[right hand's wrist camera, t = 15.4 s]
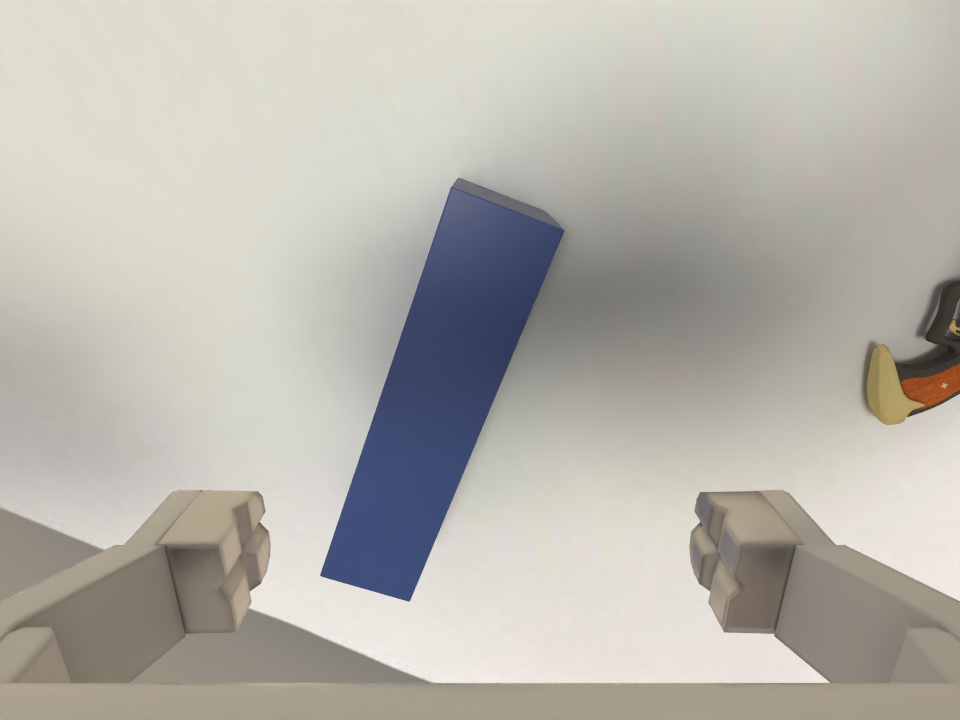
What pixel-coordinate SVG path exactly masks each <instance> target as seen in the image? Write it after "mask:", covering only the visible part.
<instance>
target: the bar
mask: <svg viewBox="0 0 960 720" xmlns="http://www.w3.org/2000/svg"><path fill="white" fill-rule="evenodd" d="M563 233H564V230H563V229H562V228H561V227H560V226H559V225H558V224H557V223H556V222H555V221H554V220H553V219H552V218H551V217H550V216H549V215H548V214H547V213H546V212H545V211H543V210H540V209H538V208H535V207H532V206H530V205H527V204H525V203H522V202H519V201H517V200H514V199H512V198H509V197H507V196H504V195H501V194H499V193H496V192H494V191H491V190H488V189H486V188H483V187H481V186H478V185H476V184H473V183H470V182H468V181H465V180H463V179H460V178H458V179H457V180H456V182H455V183H454V184H453V186H452V187H451V189H450V192H449V195H448V198H447V201H446V204H445V207H444V210H443V213H442V216H441V219H440V222H439V225H438V228H437V231H436V234H435V237H434V239H433V242H432V245H431V248H430V251H429V254H428V257H427V260H426V263H425V266H424V269H423V272H422V275H421V278H420V281H419V284H418V287H417V290H416V293H415V296H414V299H413V302H412V305H411V308H410V311H409V314H408V317H407V319H406V322H405V325H404V328H403V331H402V334H401V337H400V340H399V343H398V346H397V349H396V352H395V355H394V358H393V361H392V364H391V367H390V370H389V373H388V376H387V379H386V382H385V385H384V388H383V391H382V394H381V397H380V399H379V402H378V405H377V408H376V411H375V414H374V417H373V420H372V423H371V426H370V429H369V432H368V435H367V438H366V441H365V444H364V447H363V450H362V453H361V456H360V459H359V462H358V465H357V468H356V471H355V474H354V477H353V479H352V482H351V485H350V488H349V491H348V494H347V497H346V500H345V503H344V506H343V509H342V512H341V515H340V518H339V521H338V524H337V527H336V530H335V533H334V536H333V539H332V542H331V545H330V548H329V551H328V554H327V557H326V559H325V562H324V565H323V568H322V571H321V574H320V576H322V577H325V578H329V579H332V580H336V581H339V582H343V583H346V584H350V585H353V586H357V587H360V588H364V589H367V590H371V591H374V592H378V593H381V594H384V595H388V596H391V597H395V598H398V599H402V600H405V601H410V600H411V597H412V595H413V593H414V590H415V588H416V585H417V583H418V581H419V578H420V576H421V573H422V571H423V569H424V566H425V564H426V561H427V559H428V557H429V554H430V552H431V549H432V547H433V545H434V542H435V540H436V537H437V535H438V533H439V530H440V528H441V525H442V523H443V521H444V518H445V516H446V513H447V511H448V509H449V506H450V504H451V501H452V499H453V497H454V494H455V492H456V489H457V487H458V485H459V482H460V480H461V477H462V475H463V473H464V470H465V468H466V465H467V463H468V461H469V458H470V456H471V453H472V451H473V449H474V446H475V444H476V441H477V439H478V437H479V434H480V432H481V429H482V427H483V425H484V422H485V420H486V417H487V415H488V413H489V410H490V408H491V405H492V403H493V401H494V398H495V396H496V393H497V391H498V389H499V386H500V384H501V381H502V379H503V377H504V374H505V372H506V369H507V367H508V365H509V362H510V360H511V357H512V355H513V353H514V350H515V348H516V345H517V343H518V341H519V338H520V336H521V333H522V331H523V329H524V326H525V324H526V321H527V319H528V317H529V314H530V312H531V309H532V307H533V305H534V302H535V300H536V297H537V295H538V293H539V290H540V288H541V285H542V283H543V281H544V278H545V276H546V273H547V271H548V269H549V266H550V264H551V261H552V259H553V257H554V254H555V252H556V249H557V247H558V245H559V242H560V240H561V237H562V235H563Z"/></svg>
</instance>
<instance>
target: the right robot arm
mask: <svg viewBox="0 0 960 720" xmlns="http://www.w3.org/2000/svg"><path fill="white" fill-rule="evenodd" d="M264 513H265V507H264V502H263V497H262V495H261V494H260V493H259V492H258V491H212V490H206V491H203V490H179V491H175V492H172V493H171V494H170V495H169V496H168V497H167V498H166V499H165V501H164V502H163V503H162V504H161V505H160V506H159V507H158V508H157V509H156V510H155V512H154V513H153V514H152V515H151V516H150V517H149V518H148V519H147V520H146V521H145V523H144V524H143V525H142V526H141V527H140V528H139V529H138V530H137V531H136V532H135V534H134V535H133V536H132V537H131V538H130V539H129V540H128V541H127V542H126V543H125V545H115V546H113V547H110V548H108V549H106V550H104V551H102V552H100V553H98V554H96V555H94V556H92V557H90V558H88V559H86V560H84V561H82V562H80V563H78V564H76V565H74V566H72V567H70V568H67V569H65V570H63V571H61V572H59V573H57V574H55V575H53V576H51V577H49V578H47V579H45V580H43V581H41V582H39V583H37V584H35V585H33V586H31V587H29V588H27V589H24V590H22V591H20V592H18V593H16V594H14V595H12V596H10V597H8V598H6V599H4V600H2V601H0V720H960V601H958V600H956V599H954V598H952V597H950V596H948V595H946V594H943V593H941V592H939V591H937V590H935V589H933V588H931V587H929V586H927V585H925V584H923V583H921V582H919V581H917V580H915V579H913V578H911V577H909V576H907V575H905V574H903V573H901V572H899V571H896V570H894V569H892V568H890V567H888V566H886V565H884V564H882V563H880V562H878V561H876V560H874V559H872V558H870V557H868V556H866V555H864V554H862V553H860V552H858V551H856V550H854V549H852V548H849V547H847V546H845V545H835V543H834V542H833V541H832V540H831V539H830V538H829V537H828V536H827V535H826V534H825V532H824V531H823V530H822V529H821V528H820V527H819V526H818V525H817V524H816V523H815V521H814V520H813V519H812V518H811V517H810V516H809V515H808V514H807V513H806V512H805V510H804V509H803V508H802V507H801V506H800V505H799V504H798V503H797V502H796V501H795V499H794V498H793V497H792V496H791V495H790V494H789V493H788V492H785V491H783V490H763V491H739V492H700V494H699V496H698V498H697V500H696V506H695V513H696V515H697V516H698V518H699V520H700V523H699V524H698V525H697V526H696V527H695V528H694V529H693V530H692V531H691V539H690V558H691V564H692V568H693V571H694V574H695V576H696V578H697V580H698V582H699V584H700V585H702V586H703V587H705V588H706V589H708V590H709V591H711V592H710V598H709V604H710V606H711V608H712V610H713V612H714V614H715V616H716V618H717V620H718V621H719V623H720V625H721V627H722V629H723V631H724V632H732V633H768V634H775V635H774V636H775V637H776V638H777V639H778V640H780V641H781V642H782V643H783V644H784V645H786V646H787V647H788V648H789V649H791V650H792V651H793V652H794V653H795V654H797V655H798V656H799V657H800V658H801V659H803V660H804V661H805V662H806V663H807V664H809V665H810V666H811V667H812V668H813V669H815V670H816V671H817V672H818V673H819V674H821V675H822V676H823V677H824V678H825V679H827V680H828V681H829V682H830V683H130V682H131V681H132V680H133V679H135V678H136V677H137V676H138V675H139V674H141V673H142V672H143V671H144V670H145V669H147V668H148V667H149V666H150V665H152V664H153V663H154V662H155V661H156V660H158V659H159V658H160V657H161V656H162V655H164V654H165V653H166V652H167V651H168V650H170V649H171V648H172V647H173V646H175V645H176V644H177V643H178V642H179V641H181V640H182V639H183V638H184V637H185V634H192V633H226V632H236V631H237V629H238V627H239V625H240V623H241V621H242V620H243V618H244V616H245V614H246V612H247V610H248V608H249V606H250V604H251V598H250V592H249V591H251V590H252V589H254V588H255V587H257V586H258V585H260V584H261V582H262V580H263V578H264V576H265V574H266V572H267V567H268V563H269V558H270V537H269V531H268V530H267V529H266V528H265V527H264V526H263V525H262V524H261V523H260V520H261V518H262V516H263V515H264Z"/></svg>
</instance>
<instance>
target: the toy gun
mask: <svg viewBox="0 0 960 720" xmlns="http://www.w3.org/2000/svg"><path fill="white" fill-rule="evenodd" d="M959 299H960V281H959V282H955V283H952V284H950V285H949V286H947V287H946V288H945V289H944V290H943V291H942V293H941V298H940V304H939V308H938V312H937V314H936V317H935V319H934V322H933V323H932V325H931V327H930V329H929V331H928V333H927V335H926V340H927V341H929V342H932V343H935V344H943V345H948V346H949V351H948V352H946V353H945V354H943V355H941V356H939V357H936V358H934V359H932V360H929V361H926V362H924V363H921V364H918V365H901V364H896V363H894V360H893V357H892V355H891V353H890V351H889V350H888V348H887V347H886V346H885V345H883V344H882V345H878V346H877V347H876V348H875V349H874V350H873V353H872V357H871V361H870V367H869V373H868V379H867V398H868V404H869V406H870V409H871V411H872V412H873V414H874V415H875V416H876V417H877V418H878V419H879V420H880V421H881V422H882V423H884V424H887V425H892V424H899V423H901V422H903V421H904V420H905V419H906V417H909V416H912V415H915V414H918V413H921V412H924V411H926V410H929V409H931V408H934V407H936V406H938V405H940V404H942V403H944V402H946V401H948V400H950V399H951V398H953V397H955V396H957V395H958V394H960V339H956V340H950V339H947V338H945V333H946V330H947V329H948V330H949V331H951V332H952V333H954V334H956V335H958V336H960V333H957V332H956V330H960V327H956V325H955V319H952V318H953V315H954V313H955V309H956V305H957V302H958V300H959Z"/></svg>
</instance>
